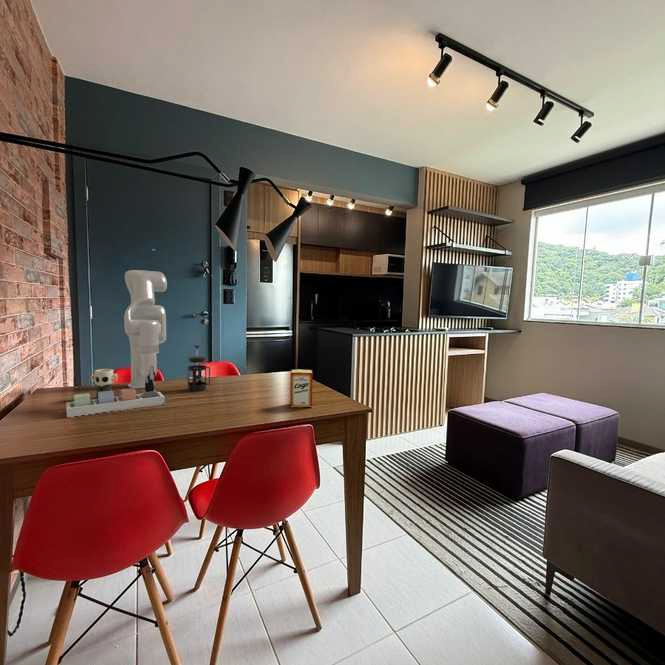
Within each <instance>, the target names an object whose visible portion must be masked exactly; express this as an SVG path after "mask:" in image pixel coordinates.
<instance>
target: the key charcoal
mask: <svg viewBox="0 0 665 665" xmlns="http://www.w3.org/2000/svg"><path fill="white" fill-rule="evenodd" d="M157 392H158V391H157V390H156V389H155V388H154V391H151V392H146V391H145V389H144V390H141V394H142V399H144V398H152V397H157Z"/></svg>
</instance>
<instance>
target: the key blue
mask: <svg viewBox="0 0 665 665" xmlns="http://www.w3.org/2000/svg"><path fill="white" fill-rule="evenodd" d="M114 397H115V392H114V391H113V389H112V391H102V392H98V402H99V404H104V403H112V402H114Z"/></svg>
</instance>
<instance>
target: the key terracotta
mask: <svg viewBox="0 0 665 665" xmlns="http://www.w3.org/2000/svg"><path fill="white" fill-rule="evenodd" d="M136 394H137V389H136V388H123V389H121V388H120V396H121V400H122V401H128V400H136Z"/></svg>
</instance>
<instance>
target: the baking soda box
mask: <svg viewBox="0 0 665 665" xmlns="http://www.w3.org/2000/svg"><path fill="white" fill-rule="evenodd" d="M313 374H314V373H313V370H312V369H301V368H300V369H290V386H289V388H290V391H289V392H290V394H289V398H290V400H289V407H290V406H312V407H313V379H314V378H313V376H314V375H313Z"/></svg>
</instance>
